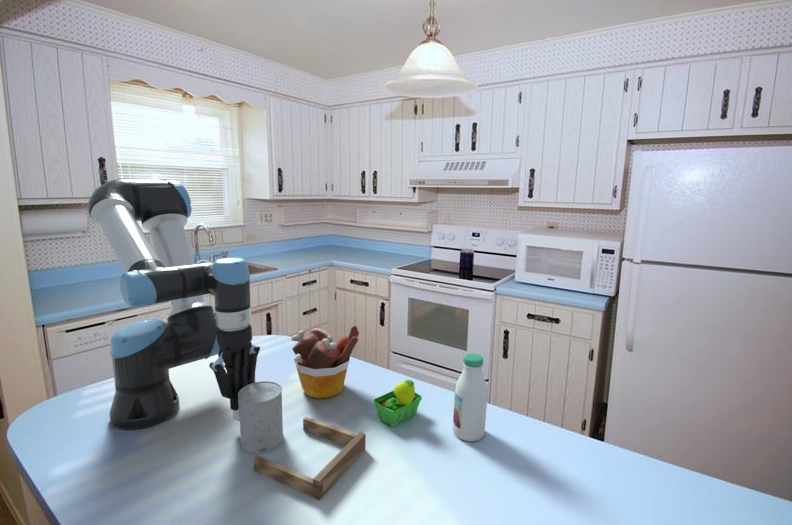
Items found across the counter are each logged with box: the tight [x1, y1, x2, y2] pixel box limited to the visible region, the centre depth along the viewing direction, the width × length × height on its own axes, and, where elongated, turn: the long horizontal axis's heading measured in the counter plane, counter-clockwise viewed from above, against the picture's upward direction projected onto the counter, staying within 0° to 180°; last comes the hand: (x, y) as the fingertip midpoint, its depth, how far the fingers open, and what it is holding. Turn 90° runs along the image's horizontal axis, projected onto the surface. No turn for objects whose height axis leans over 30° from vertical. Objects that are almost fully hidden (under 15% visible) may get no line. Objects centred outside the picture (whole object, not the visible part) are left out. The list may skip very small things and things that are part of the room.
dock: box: [252, 416, 367, 501], centre depth 87 cm, size 17×17×4 cm
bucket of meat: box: [291, 325, 360, 400], centre depth 116 cm, size 20×16×20 cm
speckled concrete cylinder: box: [238, 380, 284, 454], centre depth 93 cm, size 10×10×12 cm
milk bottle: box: [452, 353, 488, 443], centre depth 97 cm, size 8×8×20 cm
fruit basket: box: [372, 379, 423, 427], centre depth 104 cm, size 11×9×11 cm
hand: (239, 419), depth 96 cm, fingers closed
